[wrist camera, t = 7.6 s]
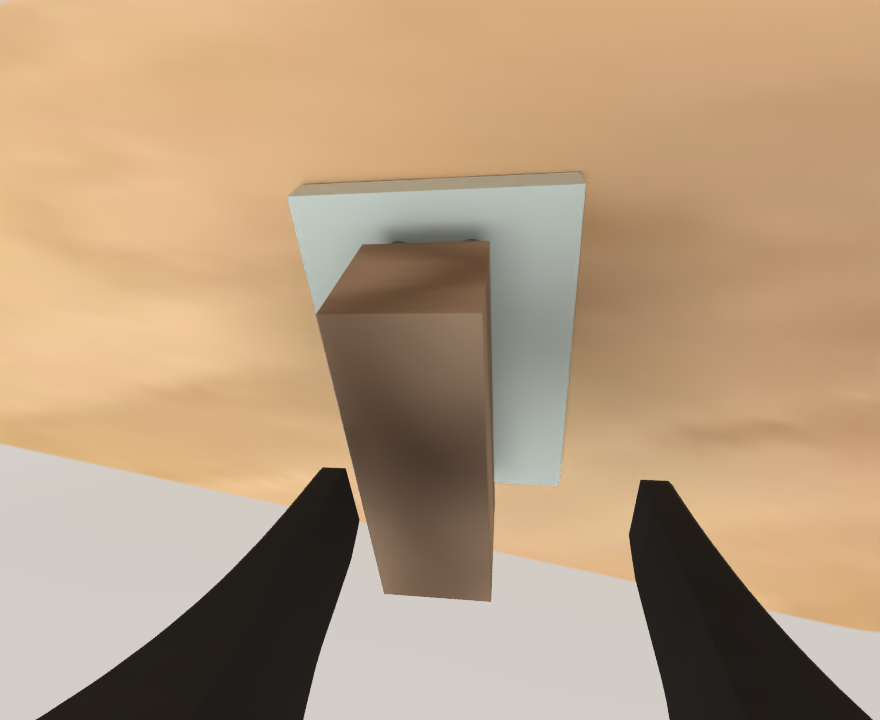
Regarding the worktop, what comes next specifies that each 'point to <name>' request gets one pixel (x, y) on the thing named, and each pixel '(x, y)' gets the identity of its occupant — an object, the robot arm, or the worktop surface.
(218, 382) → the worktop surface
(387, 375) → the walnut plank
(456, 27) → the worktop surface
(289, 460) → the worktop surface
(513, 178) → the peg stand
